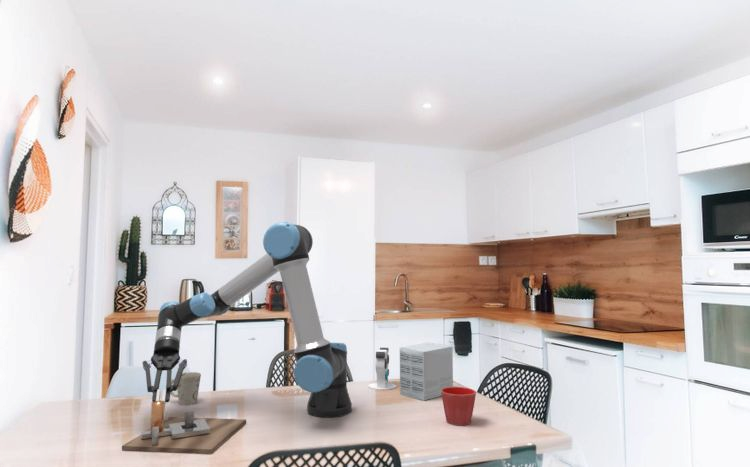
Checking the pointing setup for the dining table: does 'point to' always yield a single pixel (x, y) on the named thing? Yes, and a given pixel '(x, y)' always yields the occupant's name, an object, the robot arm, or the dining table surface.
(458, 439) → the dining table surface
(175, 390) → the robot arm
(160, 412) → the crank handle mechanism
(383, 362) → the white grey upright piece
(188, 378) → the mug
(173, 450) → the post board
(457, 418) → the flower pot
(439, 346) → the gray vented cabinet
